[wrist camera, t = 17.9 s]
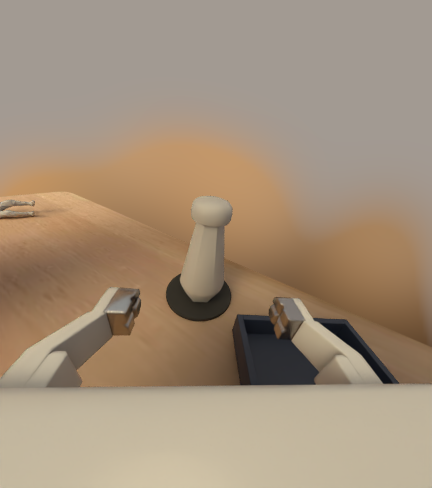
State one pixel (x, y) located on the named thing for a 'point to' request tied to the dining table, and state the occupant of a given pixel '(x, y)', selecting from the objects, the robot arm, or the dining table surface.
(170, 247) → the dining table surface
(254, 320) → the tray
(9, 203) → the soldier figure
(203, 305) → the coaster
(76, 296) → the dining table surface
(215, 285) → the salt shaker
